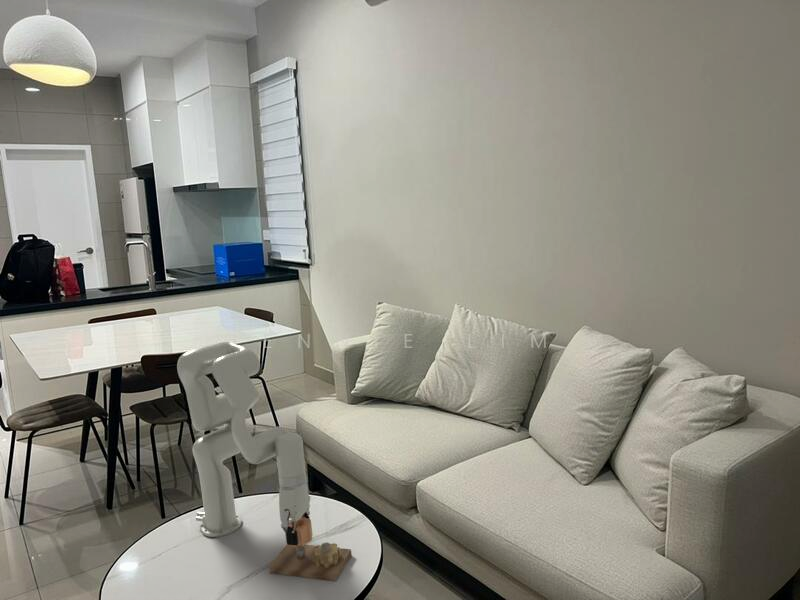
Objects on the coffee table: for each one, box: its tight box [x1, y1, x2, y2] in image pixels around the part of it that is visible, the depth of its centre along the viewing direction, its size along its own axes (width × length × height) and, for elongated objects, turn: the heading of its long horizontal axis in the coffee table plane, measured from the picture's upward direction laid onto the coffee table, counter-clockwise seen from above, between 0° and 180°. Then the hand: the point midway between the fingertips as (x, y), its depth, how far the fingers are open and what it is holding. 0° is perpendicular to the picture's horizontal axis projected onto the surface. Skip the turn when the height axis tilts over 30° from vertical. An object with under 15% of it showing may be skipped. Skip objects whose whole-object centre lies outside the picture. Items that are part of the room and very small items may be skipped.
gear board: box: [268, 542, 353, 582], centre depth 172 cm, size 20×12×6 cm, turn 74°
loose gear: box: [284, 516, 313, 547], centre depth 172 cm, size 7×7×5 cm
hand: (299, 536), depth 172 cm, fingers closed on loose gear, 7 cm apart
